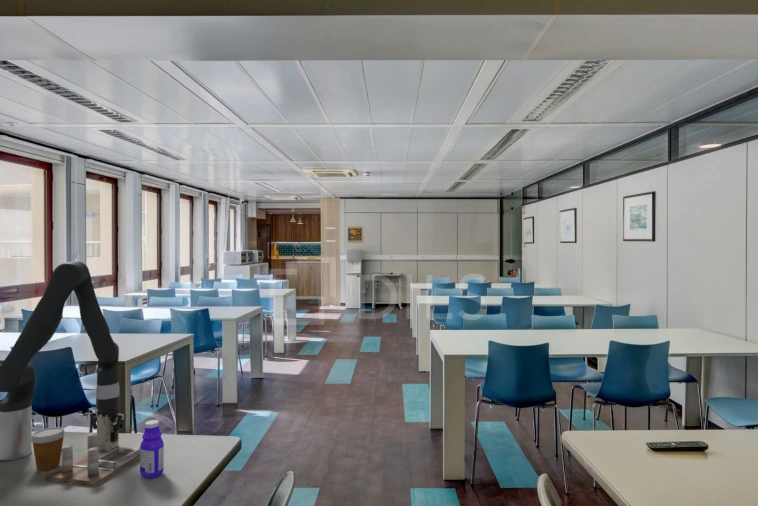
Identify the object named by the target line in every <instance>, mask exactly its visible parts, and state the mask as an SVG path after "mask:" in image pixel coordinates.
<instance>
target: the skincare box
mask: <svg viewBox="0 0 758 506" xmlns="http://www.w3.org/2000/svg"><path fill="white" fill-rule="evenodd" d="M114 422H115V421H114ZM114 422H111V423H114ZM96 425H97V429H96V433H97V434H98V450H106V451H111V450H113V449H115V448H117V447H119V439H120V438H119V431H120V430H118V431H117V440H116V441H114V442H111V430H110V427H109V418H106V417H105V416H104V417H98V418H97V422H96ZM114 428H115V427H114Z"/></svg>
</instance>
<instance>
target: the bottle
mask: <svg viewBox="0 0 758 506" xmlns="http://www.w3.org/2000/svg"><path fill="white" fill-rule="evenodd" d="M144 424H145V425H144V432H143V434H142V437H141V438H142V441H141V443H140V445H139V449H140V460H139V473H140V476H141V477H143V478H146V479H154V478H155V479H156V478H157V477H159V476H161V475H162V474H163V473H164V468H165V466H164V455H165V450H164V449H165V448H164V447H165V444H164V440H163V438H162V434H163V433H162V432H161V429H160V421H159V420H157V419H151V420H147V421H146V422H145V423H144Z"/></svg>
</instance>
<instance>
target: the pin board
mask: <svg viewBox="0 0 758 506" xmlns="http://www.w3.org/2000/svg"><path fill="white" fill-rule="evenodd" d="M86 437H87V442H86V443H87V450H86V451H87V453H85V454H83V455H81V456H79V457H77V458H75V459H74V458H73V457H74V455H73V454H74V450H73V449H74V448H73V447H74V446H73V445H72V444H67V445H64V446H63V445H62V451H61V466H60V467H59V466H58V467H56V468H55V469H53V470H51V471H50V472H48V473H46V474H44V475H43V476H42V481H43V480H45V481H44V482H53V483H60V482H63V483H62V484H69V483H72V484H71V485H77V484H78V485H79V486H88V487H98V486H100V485H101V484H103V483H104V482H106V481H108V480H110V479H111V478H112V477H114V476H116V475H117V474H120V472H122V471H124V470H126V469H127V468H129V467H131V466H132V465H133V464H136V463H137V462H140V448H136V447H134V448H133V447H124V446H116V447H114V448H112V449H110V450H108V451H106V450H98V434H97V432H93V433H89V434H88V435H86Z"/></svg>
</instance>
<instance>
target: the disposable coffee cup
mask: <svg viewBox="0 0 758 506" xmlns="http://www.w3.org/2000/svg"><path fill="white" fill-rule="evenodd" d="M65 434H66V431H65V430H64V427H60V426H57V427H56V426H52V427H48V428H43V429H40V430H37V431H35V432H33V434H32V438H31V441H32V449H33V454H34V462H35V466H36V467H35V468H36V471H37V470H38V472H47V471H46V470H48V471H51V470H50V469H52V470H54V469H57V468H58V467H59V466H60V465H59V464H61V459H62V447H63V443H64V438H65V437H64V436H65ZM57 466H58V467H57ZM53 468H54V469H53Z"/></svg>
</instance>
